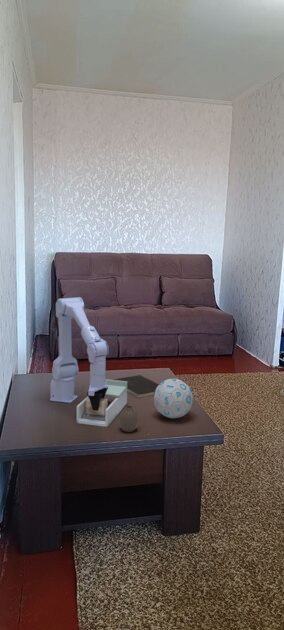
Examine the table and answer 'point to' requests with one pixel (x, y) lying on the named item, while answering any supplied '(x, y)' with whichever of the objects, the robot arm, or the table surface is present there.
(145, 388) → the hardcover book
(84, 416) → the housing
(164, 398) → the puzzle ball
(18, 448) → the table surface
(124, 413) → the vase
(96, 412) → the tan rectangular block
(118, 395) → the lid
